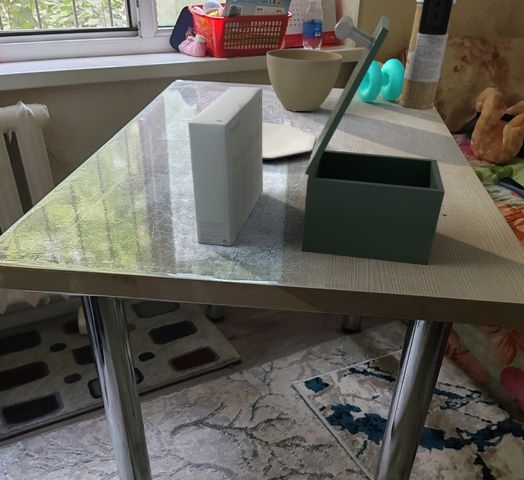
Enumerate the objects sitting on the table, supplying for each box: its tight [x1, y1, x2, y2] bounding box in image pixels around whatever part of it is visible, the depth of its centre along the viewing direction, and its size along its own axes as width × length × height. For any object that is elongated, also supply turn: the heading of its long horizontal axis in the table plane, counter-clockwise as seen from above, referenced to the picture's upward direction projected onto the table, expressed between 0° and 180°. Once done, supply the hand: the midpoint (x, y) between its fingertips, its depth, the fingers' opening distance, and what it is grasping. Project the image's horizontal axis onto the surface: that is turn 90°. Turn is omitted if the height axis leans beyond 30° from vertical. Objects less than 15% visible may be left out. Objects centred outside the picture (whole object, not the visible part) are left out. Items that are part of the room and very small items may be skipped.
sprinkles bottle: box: [399, 0, 457, 111], centre depth 67 cm, size 5×5×14 cm
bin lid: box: [304, 15, 390, 177], centre depth 67 cm, size 17×13×5 cm
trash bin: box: [301, 149, 446, 266], centre depth 74 cm, size 17×13×10 cm
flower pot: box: [266, 48, 343, 112], centre depth 134 cm, size 18×18×12 cm
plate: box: [262, 122, 317, 161], centre depth 111 cm, size 24×24×2 cm
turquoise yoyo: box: [356, 58, 405, 103], centre depth 144 cm, size 10×10×10 cm
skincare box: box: [187, 86, 264, 247], centre depth 77 cm, size 21×6×16 cm, turn 168°
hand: (431, 29), depth 66 cm, fingers closed on sprinkles bottle, 4 cm apart
